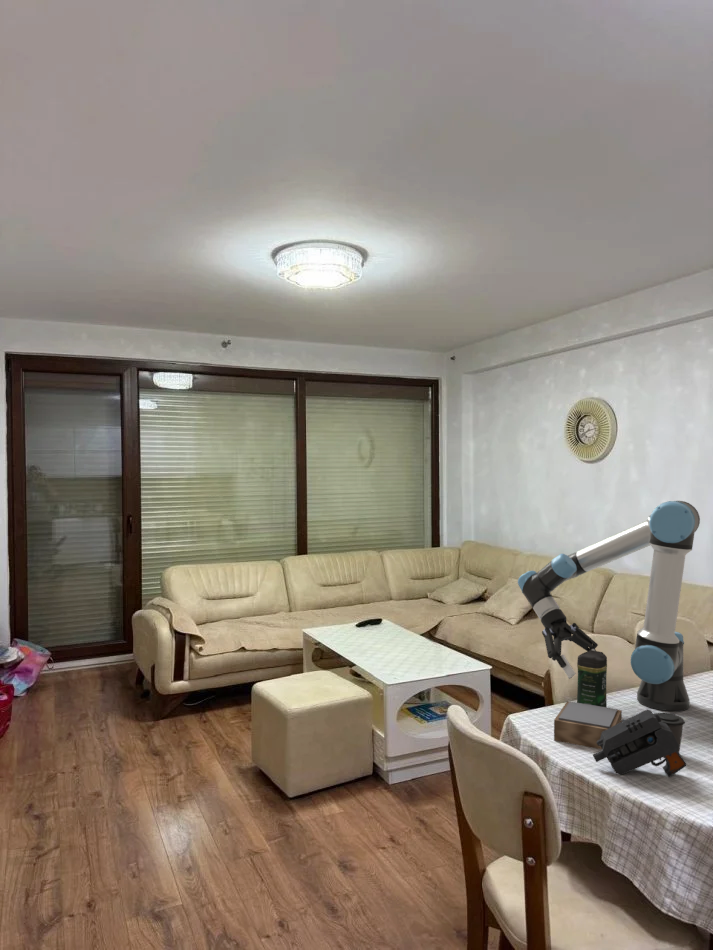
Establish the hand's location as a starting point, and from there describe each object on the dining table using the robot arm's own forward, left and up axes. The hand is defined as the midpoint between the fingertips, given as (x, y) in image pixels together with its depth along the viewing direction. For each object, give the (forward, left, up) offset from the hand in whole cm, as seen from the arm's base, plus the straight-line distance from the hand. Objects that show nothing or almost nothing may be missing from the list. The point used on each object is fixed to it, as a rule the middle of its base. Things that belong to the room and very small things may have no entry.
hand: (587, 672), depth 199 cm
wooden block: (-3, +18, -12) cm, 22 cm away
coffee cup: (-23, +21, -12) cm, 34 cm away
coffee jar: (-1, 0, -12) cm, 12 cm away
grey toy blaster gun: (-18, +36, -12) cm, 42 cm away
